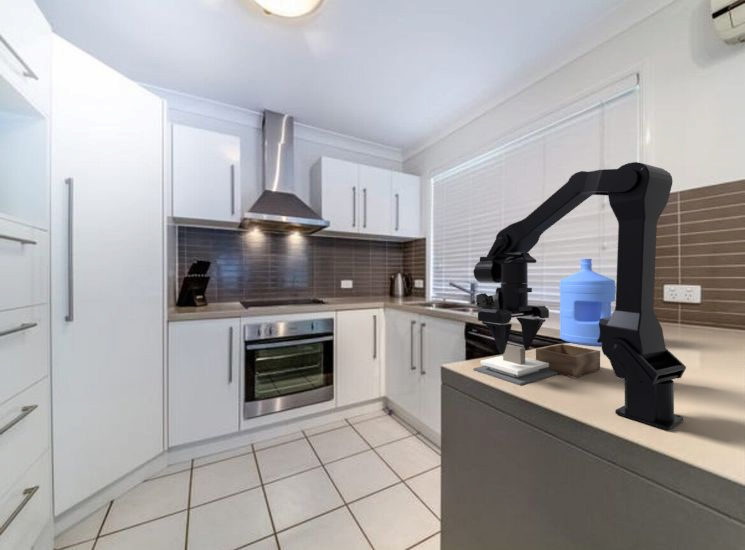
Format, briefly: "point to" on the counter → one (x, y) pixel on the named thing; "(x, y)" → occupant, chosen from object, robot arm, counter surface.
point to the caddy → (569, 359)
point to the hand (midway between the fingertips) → (514, 350)
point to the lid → (514, 362)
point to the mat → (521, 379)
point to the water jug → (584, 304)
